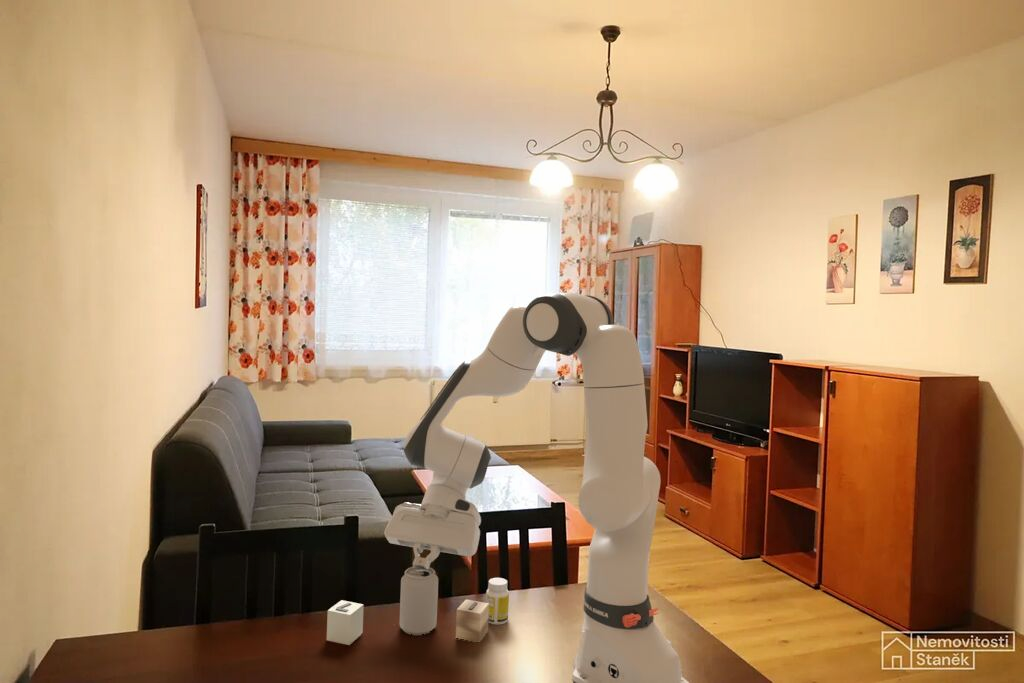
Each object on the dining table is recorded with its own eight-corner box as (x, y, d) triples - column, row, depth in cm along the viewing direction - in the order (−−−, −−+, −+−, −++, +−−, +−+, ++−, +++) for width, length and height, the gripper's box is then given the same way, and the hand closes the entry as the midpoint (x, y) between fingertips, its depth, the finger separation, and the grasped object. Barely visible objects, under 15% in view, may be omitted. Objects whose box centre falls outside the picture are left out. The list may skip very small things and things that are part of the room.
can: (437, 636, 135) (439, 577, 135) (399, 637, 134) (401, 578, 134) (435, 619, 143) (437, 563, 142) (399, 620, 142) (401, 564, 141)
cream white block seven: (362, 633, 135) (363, 603, 135) (349, 645, 130) (350, 613, 130) (340, 629, 137) (341, 599, 136) (326, 640, 132) (327, 609, 132)
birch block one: (487, 632, 138) (488, 602, 138) (479, 643, 133) (480, 612, 133) (464, 627, 140) (466, 598, 139) (455, 638, 135) (456, 608, 135)
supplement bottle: (509, 616, 146) (510, 577, 145) (506, 626, 141) (508, 586, 141) (486, 614, 146) (488, 575, 146) (483, 624, 141) (485, 584, 141)
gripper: (394, 493, 148) (369, 552, 139) (481, 506, 142) (462, 568, 133) (402, 508, 152) (379, 566, 143) (488, 521, 146) (469, 582, 137)
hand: (420, 567), depth 138 cm, fingers closed, pressing on can
